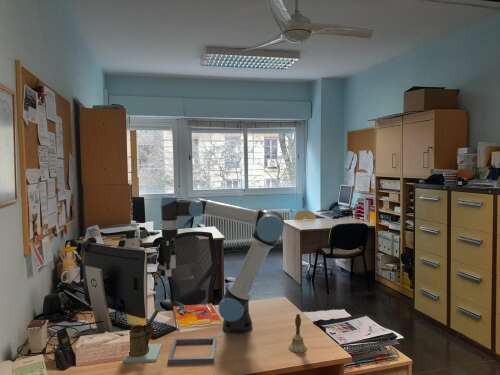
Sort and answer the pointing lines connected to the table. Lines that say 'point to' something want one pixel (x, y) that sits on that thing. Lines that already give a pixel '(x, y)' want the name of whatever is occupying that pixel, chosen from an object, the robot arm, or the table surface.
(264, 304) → the table surface
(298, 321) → the hand bell
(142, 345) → the wooden mug
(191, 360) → the frame
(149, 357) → the coaster
